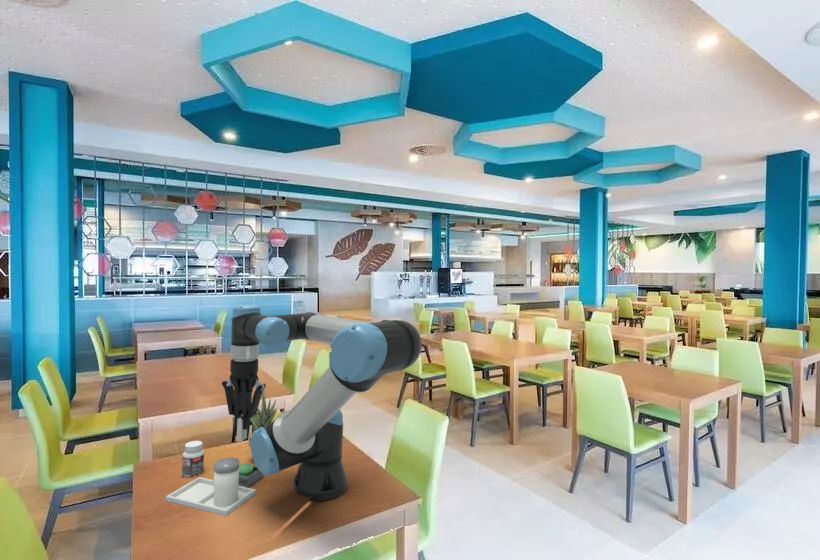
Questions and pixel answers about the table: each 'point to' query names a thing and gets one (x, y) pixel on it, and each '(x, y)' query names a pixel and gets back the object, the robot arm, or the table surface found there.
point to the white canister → (226, 481)
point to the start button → (245, 469)
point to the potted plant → (264, 414)
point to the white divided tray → (206, 496)
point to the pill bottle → (193, 459)
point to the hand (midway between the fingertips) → (241, 439)
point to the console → (250, 478)
